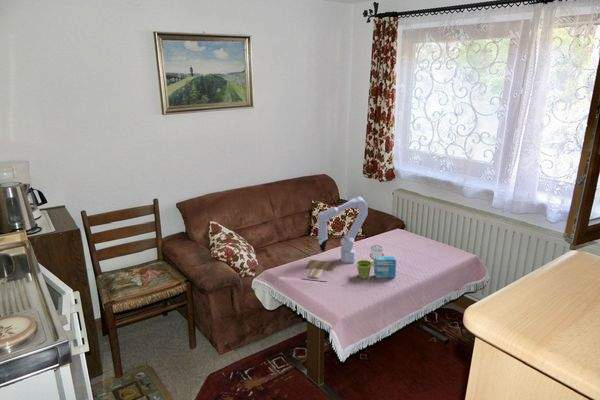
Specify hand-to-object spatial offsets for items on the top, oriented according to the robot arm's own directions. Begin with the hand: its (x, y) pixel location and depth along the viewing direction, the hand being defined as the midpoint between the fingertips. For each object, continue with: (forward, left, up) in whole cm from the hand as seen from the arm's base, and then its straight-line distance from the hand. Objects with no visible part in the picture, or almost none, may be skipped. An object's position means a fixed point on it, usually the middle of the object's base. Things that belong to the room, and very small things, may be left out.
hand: (323, 250), depth 265 cm
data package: (-40, +8, -10) cm, 42 cm away
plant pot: (-28, +11, -10) cm, 32 cm away
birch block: (0, +18, -9) cm, 20 cm away
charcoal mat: (0, +18, -9) cm, 20 cm away
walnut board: (0, +5, -9) cm, 11 cm away
